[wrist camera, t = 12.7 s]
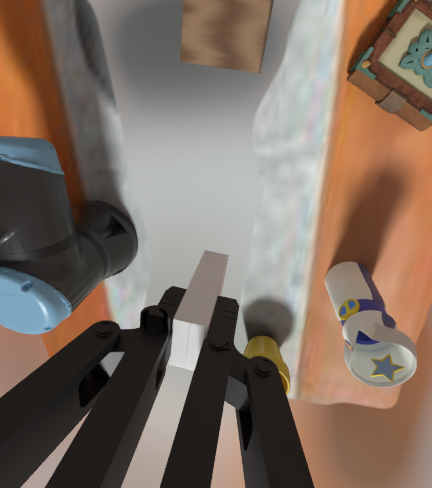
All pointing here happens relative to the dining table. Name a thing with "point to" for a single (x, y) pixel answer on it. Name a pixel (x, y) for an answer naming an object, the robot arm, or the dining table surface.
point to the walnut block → (225, 33)
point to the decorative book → (400, 64)
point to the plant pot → (269, 356)
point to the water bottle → (369, 328)
